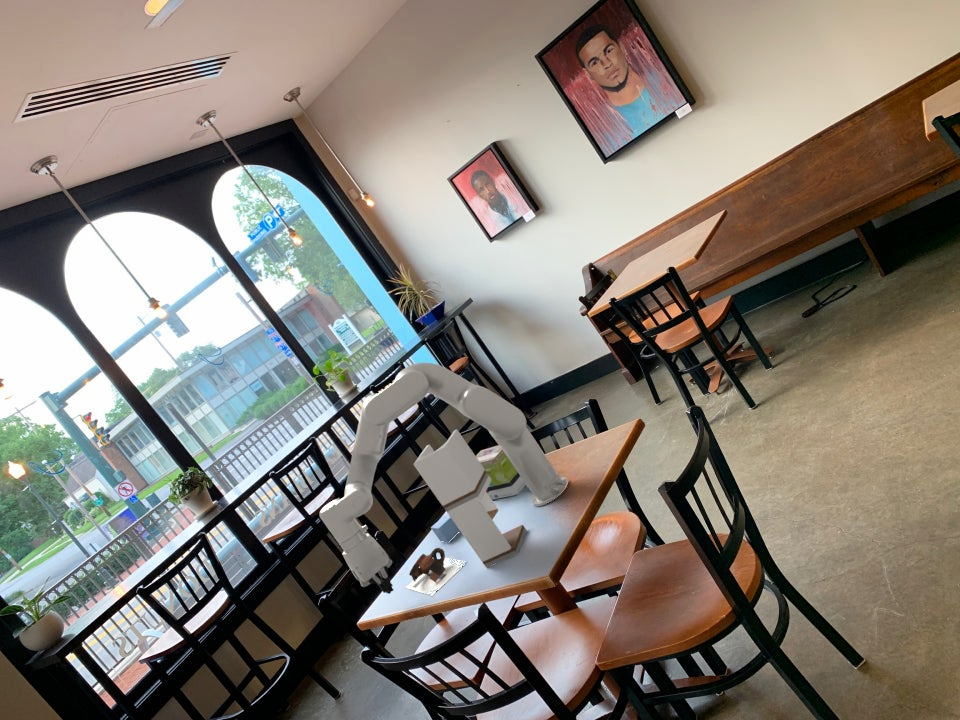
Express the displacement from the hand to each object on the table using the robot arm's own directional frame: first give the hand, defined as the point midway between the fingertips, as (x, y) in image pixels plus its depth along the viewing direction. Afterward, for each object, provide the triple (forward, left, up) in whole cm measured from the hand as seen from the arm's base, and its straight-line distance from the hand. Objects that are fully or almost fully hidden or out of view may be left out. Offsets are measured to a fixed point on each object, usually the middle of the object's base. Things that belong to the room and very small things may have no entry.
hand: (389, 591), depth 207 cm
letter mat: (0, -13, -6) cm, 15 cm away
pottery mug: (0, -13, -6) cm, 15 cm away
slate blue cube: (+16, -29, -6) cm, 34 cm away
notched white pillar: (-23, -27, -6) cm, 36 cm away
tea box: (+10, -53, -6) cm, 55 cm away
